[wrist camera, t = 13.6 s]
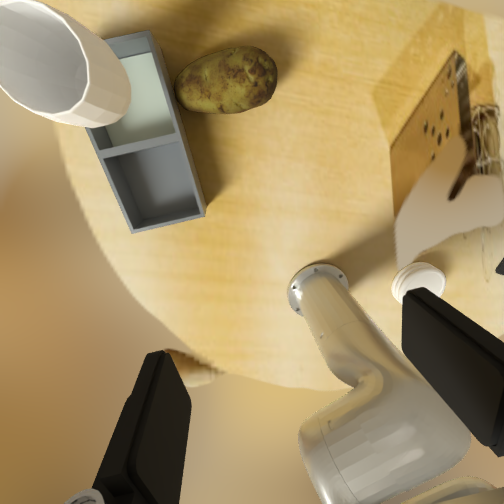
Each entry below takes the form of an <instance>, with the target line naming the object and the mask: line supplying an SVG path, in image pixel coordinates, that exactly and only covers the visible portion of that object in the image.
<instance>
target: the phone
mask: <svg viewBox="0 0 504 504" xmlns="http://www.w3.org/2000/svg"><path fill="white" fill-rule="evenodd" d="M496 273H498V274H501V275H504V258H503V260H502V261H501V262H500V264H499V265H498V266H497V268H496Z"/></svg>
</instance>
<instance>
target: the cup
mask: <svg viewBox="0 0 504 504" xmlns="http://www.w3.org/2000/svg"><path fill="white" fill-rule="evenodd" d="M0 87H1V88H2V89H3V91H5V93H6V94H7V95H9V97H10V98H11V99H12V100H13V101H14V102H16V103H18V104H20V105H21V106H23V107H25V108H26V109H28V110H30V111H32V112H34V113H36V114H38V115H41V116H43V117H46V118H48V119H51V120H54V121H56V122H61V123H66V124H71V125H77V126H82V127H88V128H96V127H101V126H105V125H109V124H112V123H115V122H117V121H118V120H119V119H120V118H121V117H123V116H124V115H125V114H126V112H127V110H128V108H129V105H130V103H131V84H130V81H129V78H128V75H127V72H126V70H125V68H124V66H123V65H122V63H121V62H120V60H119V59H118V58H117V56H116V55H115V54H114V52H113V51H112V50H111V48H110V47H109V46H108V44H107V43H106V42H105V41H104V40H102V39H101V38H100V37H98V36H97V35H96V34H94V33H93V32H92V31H90V30H89V29H88V28H86V27H85V26H83V25H82V24H80V23H79V22H78V21H76V20H75V19H73V18H72V17H71V16H69V15H68V14H66V13H64V12H61V11H59V10H57V9H55V8H53V7H51V6H49V5H47V4H45V3H42V2H39V1H35V0H0Z"/></svg>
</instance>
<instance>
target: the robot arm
mask: <svg viewBox="0 0 504 504" xmlns="http://www.w3.org/2000/svg"><path fill="white" fill-rule="evenodd" d="M348 288H349V285H348V280H347V278H346V276H345V275H344V273H343V272H342V271H341V270H340V269H339V268H337V267H336V266H333V265H331V264H325V263H320V264H314V265H311V266H308V267H306V268H304V269H302V270H301V271H300V272H298V273H297V274H296V275H295V276H294V278H293V279H292V280H291V282H290V284H289V287H288V291H287V297H288V301H289V304H290V306H291V308H292V309H293V310H294V311H295V312H296V313H297V314H299V315H301V316H303V317H304V318H305V320H306V322H307V324H308V326H309V329H310V331H311V333H312V335H313V337H314V339H315V341H316V343H317V345H318V348H319V350H320V352H321V354H322V356H323V358H324V360H325V362H326V364H327V366H328V368H329V369H330V371H331V372H332V373H333V374H334V375H335V376H336V377H337V378H338V379H340V380H341V381H343V382H344V383H346V384H348V385H350V386H352V387H354V389H352V390H351V391H349V392H348V393H347V394H345V395H344V396H342V397H340V398H339V399H337V400H335V401H333V402H332V403H330V404H329V405H327V406H325V407H324V408H322V409H320V410H319V411H317V412H315V413H314V414H312V415H311V416H309V417H308V418H307V419H306V420H305V421H304V422H303V423H302V425H301V427H300V430H299V435H298V441H299V448H300V452H301V456H302V459H303V462H304V465H305V467H306V470H307V472H308V475H309V477H310V479H311V481H312V483H313V485H314V487H315V489H316V491H317V493H318V496H319V497H320V500H321V502H322V503H323V504H381V503H383V502H385V501H386V500H389V499H391V498H393V497H394V496H396V495H399V494H401V493H403V492H405V491H406V492H407V491H409V490H411V489H413V488H415V487H417V486H419V485H421V484H423V483H425V482H427V481H429V480H431V479H433V478H435V477H437V476H439V475H441V474H443V473H445V472H446V471H448V470H450V469H451V468H453V467H454V466H455V465H456V464H457V463H459V462H460V461H461V460H462V459H463V458H464V456H465V455H466V453H467V451H468V450H469V447H470V443H471V433H472V434H473V435H474V436H475V437H476V439H477V440H478V441H479V442H480V443H481V444H483V445H484V446H489V447H490V449H491V450H492V451H493V452H494V453H495V454H496V455H497V456H498V457H501V456H504V343H503V342H502V341H501V340H499V339H498V338H497V337H495V336H494V335H492V334H491V333H490V332H488V331H487V330H485V329H484V328H482V327H481V326H480V325H478V324H477V323H475V322H474V321H472V320H471V319H470V318H468V317H467V316H465V315H464V314H462V313H461V312H460V311H458V310H457V309H455V308H454V307H452V306H451V305H450V304H448V303H447V302H445V301H444V300H443V299H441V298H440V297H438V296H437V295H435V294H434V293H433V292H431V291H430V290H428V289H427V288H425V287H419V288H415V289H411V290H408V291H407V292H406V295H404V296H403V299H402V350H403V353H404V355H405V356H406V357H407V358H408V359H407V358H406V357H405V356H404V355H403V354H402V353H401V352H400V350H399V349H398V348H397V347H396V346H395V345H394V344H393V343H392V342H391V341H390V340H389V338H388V337H387V336H386V335H385V334H384V333H383V331H382V330H381V329H380V328H379V327H378V326H377V324H376V323H375V322H374V321H373V320H372V318H371V317H370V316H369V315H368V314H367V313H366V311H365V310H364V309H363V308H362V307H361V305H360V304H359V303H358V302H357V301H356V300H355V298H354V297H353V296H352V295H351V294H350V293H349V291H348ZM191 407H192V406H191V399H190V396H189V394H188V392H187V390H186V388H185V386H184V384H183V381H182V379H181V377H180V375H179V373H178V371H177V368H176V366H175V364H174V362H173V360H172V358H171V356H170V354H169V353H165V352H164V351H163V350H161V351H156V352H152V353H148V354H147V355H146V357H145V359H144V363H143V365H142V367H141V370H140V373H139V375H138V378H137V380H136V383H135V386H134V388H133V391H132V394H131V395H130V396H129V397H128V398H127V401H126V402H125V405H124V407H123V410H122V412H121V415H120V417H119V420H118V422H117V425H116V427H115V430H114V433H113V435H112V438H111V440H110V443H109V446H108V448H107V450H106V453H105V455H104V458H103V460H102V463H101V466H100V468H99V471H98V473H97V476H96V478H95V481H94V483H93V486H92V488H91V489H86V490H83V491H81V492H79V493H77V494H75V495H74V496H72V497H71V498H70V499H69V500H67V501H66V502H65V503H64V504H179V500H180V492H181V485H182V477H183V469H184V461H185V454H186V446H187V439H188V431H189V423H190V415H191ZM470 432H471V433H470ZM400 504H504V487H502V488H496V487H495V486H493V485H492V484H490V483H489V482H487V481H485V480H483V479H481V478H477V477H469V476H467V477H460V478H456V479H453V480H450V481H447V482H445V483H442V484H440V485H438V486H435V487H433V488H431V489H429V490H427V491H425V492H423V493H421V494H419V495H417V496H415V497H413V498H411V499H408V500H406V501H405V502H402V503H400Z"/></svg>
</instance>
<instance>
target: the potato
mask: <svg viewBox="0 0 504 504" xmlns="http://www.w3.org/2000/svg"><path fill="white" fill-rule="evenodd" d="M276 84H277V67H276V65H275V62H274V61H273V59H272V58H271V57H270V56H269V55H268V54H266V53H265V52H264V51H262V50H261V49H258V48H256V47H252V46H243V47H238V48H229V49H226V50H222V51H219V52H216V53H212V54H210V55H207V56H204V57H202V58H199V59H197V60H195V61H194V62H192V63H191V64H189V65H188V66H187V67H186V68H185V69H184V70H183V71H182V72H181V73H180V74H179V76H178V77H177V79H176V80H175V83H174V91H175V95H176V99H177V101H178V102H179V103H180V104H181V105H182V107H183V108H185V109H186V110H191V111H196V112H207V113H213V114H234V113H241V112H244V111H246V110H249V109H252V108H255V107H258V106H261V105H263V104H265V103H266V102H267V101H268V100H270V99H271V97H272V95H273V93H274V91H275V88H276Z"/></svg>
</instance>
